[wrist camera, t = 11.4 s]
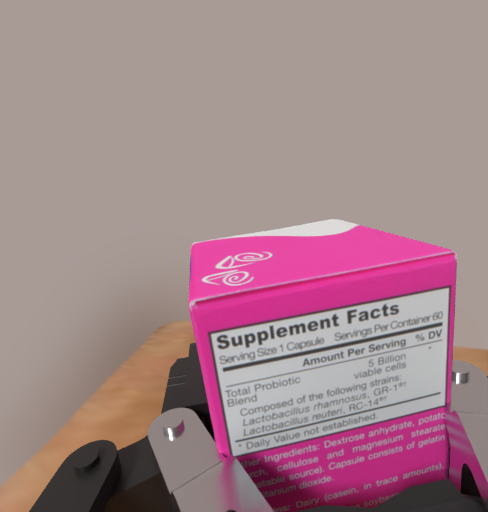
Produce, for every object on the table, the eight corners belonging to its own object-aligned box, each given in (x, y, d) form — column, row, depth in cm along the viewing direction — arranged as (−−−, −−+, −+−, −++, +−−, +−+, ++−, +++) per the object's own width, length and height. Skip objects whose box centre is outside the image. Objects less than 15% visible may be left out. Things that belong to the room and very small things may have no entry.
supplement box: (230, 487, 14) (189, 237, 11) (354, 457, 15) (344, 216, 12) (252, 692, 8) (182, 291, 6) (453, 628, 9) (478, 243, 6)
